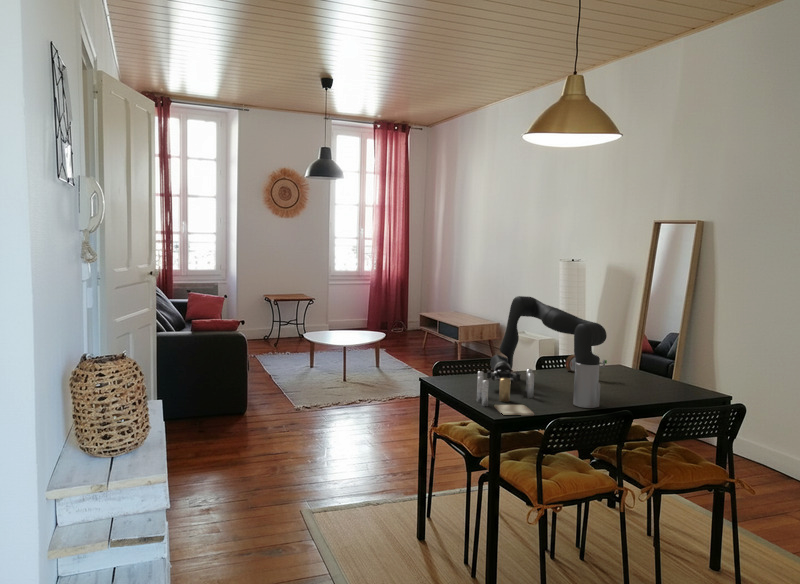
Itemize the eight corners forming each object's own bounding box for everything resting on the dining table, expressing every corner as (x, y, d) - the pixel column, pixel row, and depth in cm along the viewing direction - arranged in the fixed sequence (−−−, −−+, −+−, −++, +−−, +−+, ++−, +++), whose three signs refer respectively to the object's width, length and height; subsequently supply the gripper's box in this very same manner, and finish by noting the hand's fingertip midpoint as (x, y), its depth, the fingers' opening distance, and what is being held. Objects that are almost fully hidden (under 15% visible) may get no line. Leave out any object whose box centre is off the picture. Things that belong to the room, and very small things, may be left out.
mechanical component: (605, 381, 290) (607, 360, 289) (583, 379, 292) (584, 358, 291) (605, 379, 292) (606, 359, 292) (582, 378, 294) (584, 357, 294)
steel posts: (530, 391, 265) (531, 368, 264) (550, 406, 242) (551, 381, 241) (467, 391, 261) (468, 368, 260) (481, 406, 238) (482, 381, 237)
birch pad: (523, 406, 240) (523, 404, 239) (534, 415, 228) (534, 413, 228) (494, 406, 238) (494, 404, 238) (503, 415, 226) (503, 413, 226)
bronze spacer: (507, 399, 251) (508, 377, 250) (511, 401, 246) (512, 380, 245) (497, 399, 250) (498, 377, 249) (500, 402, 246) (501, 380, 245)
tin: (584, 368, 317) (585, 353, 316) (589, 370, 314) (590, 354, 314) (564, 371, 309) (565, 355, 308) (569, 372, 306) (569, 356, 306)
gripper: (487, 361, 275) (487, 369, 259) (519, 363, 273) (521, 371, 257) (486, 378, 276) (486, 386, 260) (518, 380, 274) (520, 388, 258)
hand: (504, 378), depth 258 cm, fingers open, 8 cm apart
